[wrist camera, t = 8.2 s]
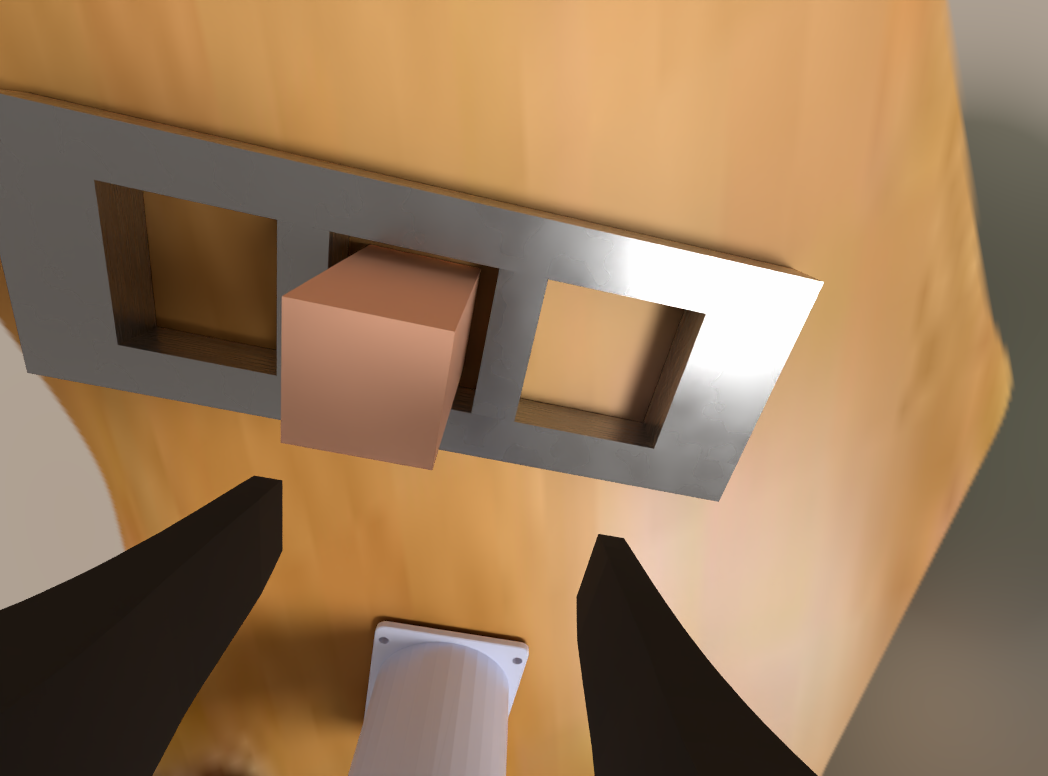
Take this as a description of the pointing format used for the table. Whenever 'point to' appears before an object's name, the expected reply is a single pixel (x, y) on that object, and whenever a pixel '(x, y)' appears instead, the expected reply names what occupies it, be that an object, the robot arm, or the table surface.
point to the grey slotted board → (323, 241)
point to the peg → (376, 355)
